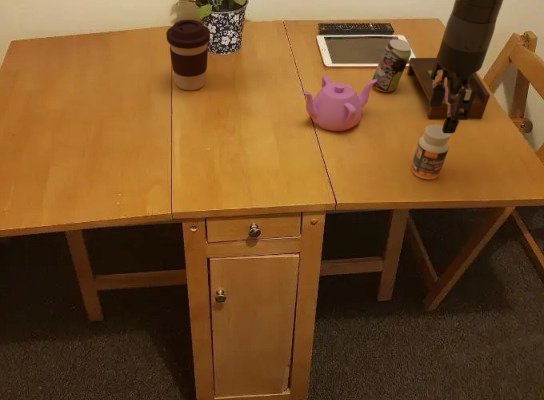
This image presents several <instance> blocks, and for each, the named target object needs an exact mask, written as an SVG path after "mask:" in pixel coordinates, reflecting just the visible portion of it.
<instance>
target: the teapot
mask: <svg viewBox="0 0 544 400" xmlns="http://www.w3.org/2000/svg"><path fill="white" fill-rule="evenodd" d="M372 79H373V78H372ZM372 79H371V80H369V81H367V83H366V84H365V85H364V87H363V89H362V91H361V92H360V93H359V94H357V92H356V91H355V89H354V88H353V86H350V85H349V84H347V83H343V82H332V80H331V78H330V77H329V76H328V75H327V74H324V75H322V77H321V89H320V90H319V91H318V92H317V93H316V94H315V96H314V97H313V94H312V93H311V92H308V91H301V93H302V94H303V95H304V96H305V97H306V101H305V110H306V113H307V115H308V116H309V117H311V119H312V121H313V123H315V124H316V125H317V126H318V127H320V128H322V129H324V130H327V131H332V132H344V131H348V130H350V129H352V128H353V127H355V126H357V125H358V123H359V122H360V121H361V119H362V115H363V110H362V109H363V108H364V107H365V106H366V105H367V103H368V101H369V97H370V92H371V89H372V87H373V86H374V85H373V84H374V83H375V82H376V81H377V79H373V80H372Z"/></svg>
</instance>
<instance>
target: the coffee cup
mask: <svg viewBox="0 0 544 400" xmlns="http://www.w3.org/2000/svg"><path fill="white" fill-rule="evenodd" d="M165 35H166V41H167V43H168V44H169V54H170V60H171V66H172V67H171V68H172V71H173V75H174V83H175V85H176V87H177V88H179V89H181V90H184V91H196V90H199V89H201V88H203V87H204V86H205V84H206V78H207V76H206V75H207V69H208V56H209V55H208V54H209V53H208V52H209V45H208V43H209V42H210V40H211V32H210V29H209V28H208V27H207V26H205V25H203V24H202V22H201V21H199V20H195V19H181V20H178V21H177V22H175V23H174V24H173V26H171V27H170V28H168V30H166V34H165Z"/></svg>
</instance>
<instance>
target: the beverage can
mask: <svg viewBox="0 0 544 400" xmlns="http://www.w3.org/2000/svg"><path fill="white" fill-rule="evenodd" d="M411 55H412V46H411V44H410V43H408V42H407V41H405V40H404V39H399V38H393V39H390V40H389V42H387V44H386V45H385V46H384V49H383V51H382V54H381V56H380V59H379V62H378V64H377V67H376V68H375V71H374V73H373V77H372V79H371V80H373V79H377V81H376V82H375V83H374V84H373V85H372V86H374V87H375V88H376V90H379V91H381V92H384V93H390V92H393V91H395V90H396V89H397V88H398V85H399V83H400V80H401V78H402V76H403V74H404V71H405V70H406V67H407V64H408V62H409V61H410V58H411Z"/></svg>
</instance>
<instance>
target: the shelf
mask: <svg viewBox="0 0 544 400" xmlns="http://www.w3.org/2000/svg"><path fill="white" fill-rule="evenodd" d="M436 58H437V57H410V58H409V61H408V62H409V63H408V67H407V70H406V75H407V76H415V77H416V79H417V80H418V82H419V85H420V87H421V89H422V91H423V92H424V94H425V96H426V98H427V100H428V103H429V102H430V98H431V95H432V91H433V86H432V84H433V82H434V80H431V73H432V70H433V67H434V64H435V61H436ZM440 71H441V70H438V71H437V74H439V72H440ZM468 87H469V88H470V89H476V94H475V97H474V100H473V103H472V107H471V110H470V113H469V116H468V119H467V120H473V119H475V120H476V119H477V120H478V119H479V120H480V119H481V120H482V119H483V116H484V113H485V111H486V108H487V105H488V102H489V99H490V97H491V94H490V93H489V90H488V89H487V88H486V87H485V85H484V83H483V82H482V80H481V79H480V77H479V76H478V74H477V72H475V73H473V74H472V75H471V76H470V79H469V86H468ZM451 98H452V99H457V96H451ZM454 105H455V104H453V109H454ZM447 109H448V105H447V104H446V103H445V95H444V98H443V102H442V105H441V106H440V107H431V106H430V105H429V109H428V113H427V118H428V120H445V119H446V116H447Z"/></svg>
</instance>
